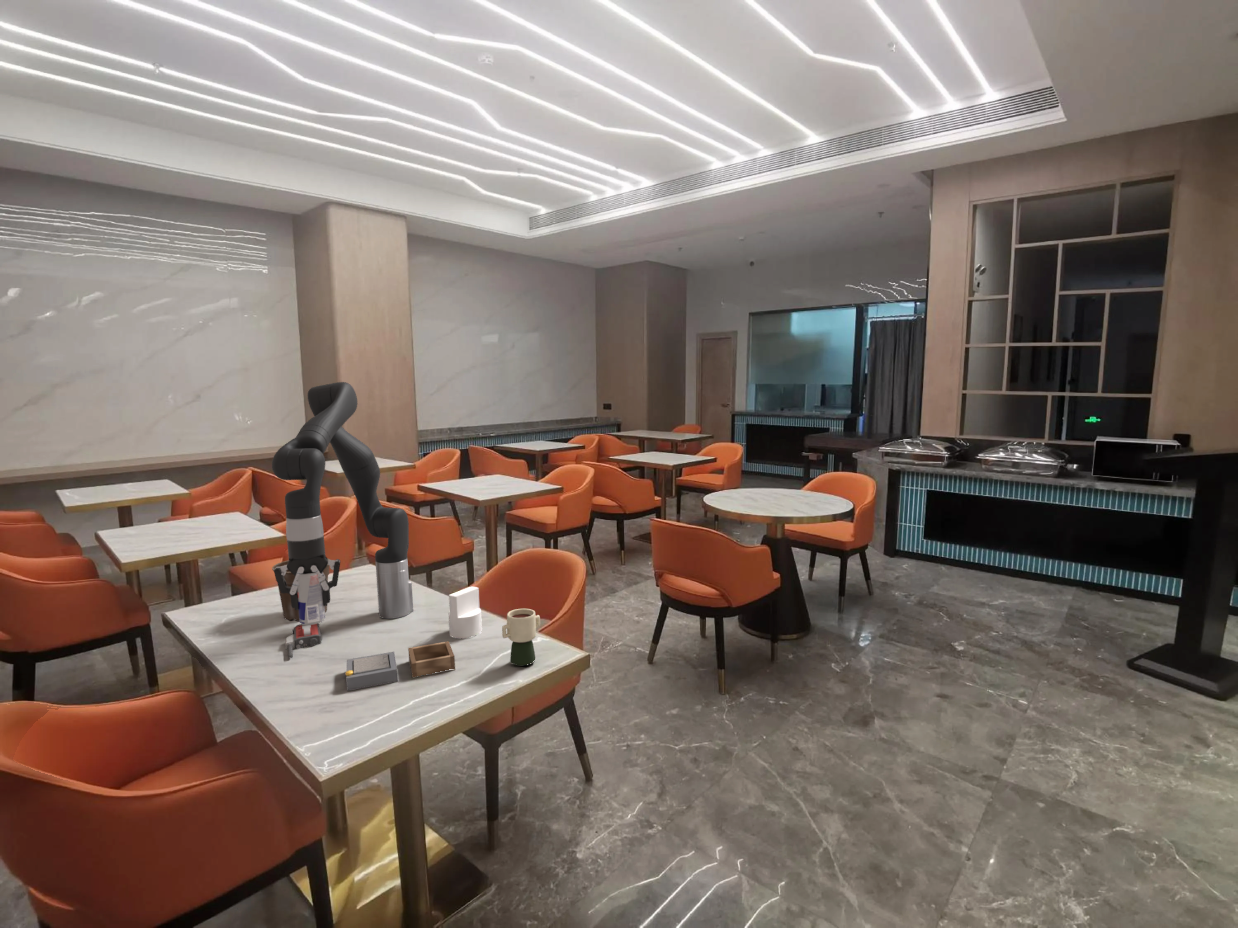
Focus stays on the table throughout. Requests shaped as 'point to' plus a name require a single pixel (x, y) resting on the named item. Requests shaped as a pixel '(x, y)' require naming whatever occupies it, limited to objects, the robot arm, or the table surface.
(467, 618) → the base with upright slab
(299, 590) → the energy drink
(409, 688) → the table surface
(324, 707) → the table surface
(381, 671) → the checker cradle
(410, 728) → the table surface
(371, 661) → the pad
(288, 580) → the plant pot
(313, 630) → the walkie-talkie
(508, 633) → the character mug
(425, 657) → the walnut holder
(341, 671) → the table surface
